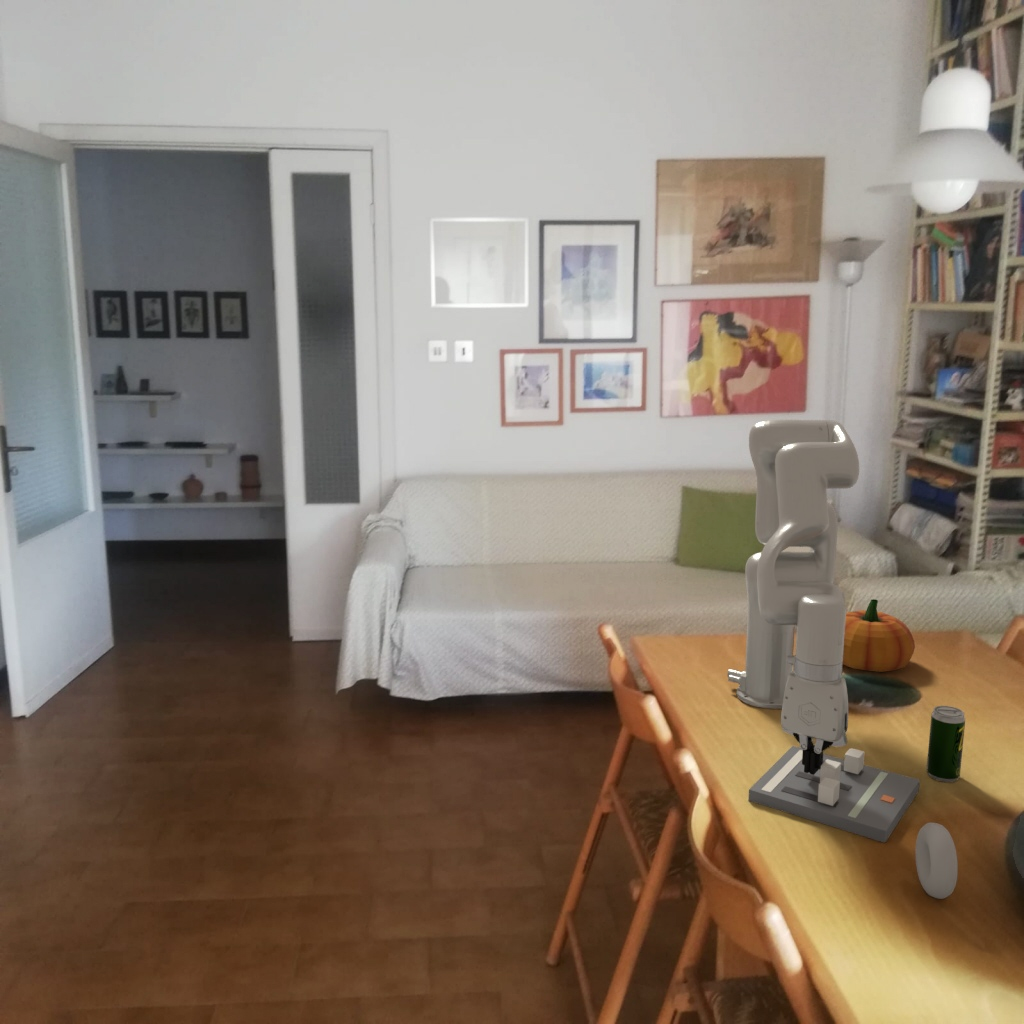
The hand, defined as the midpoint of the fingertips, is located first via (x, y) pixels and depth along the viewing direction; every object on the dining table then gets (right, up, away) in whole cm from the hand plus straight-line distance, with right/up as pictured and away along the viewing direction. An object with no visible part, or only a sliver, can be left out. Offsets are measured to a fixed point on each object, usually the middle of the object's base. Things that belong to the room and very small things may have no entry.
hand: (811, 770), depth 160 cm
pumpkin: (+31, +9, +58) cm, 67 cm away
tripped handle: (+3, -1, -2) cm, 3 cm away
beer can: (+24, -2, +5) cm, 25 cm away
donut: (+8, -10, -28) cm, 31 cm away
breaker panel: (+3, -4, -2) cm, 5 cm away
